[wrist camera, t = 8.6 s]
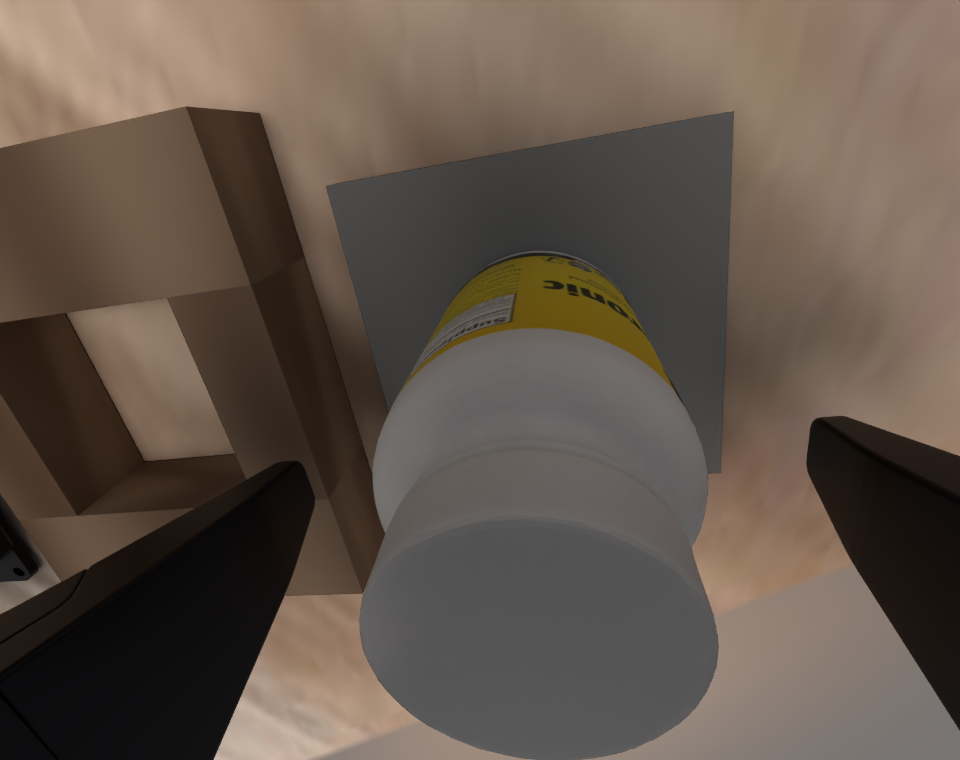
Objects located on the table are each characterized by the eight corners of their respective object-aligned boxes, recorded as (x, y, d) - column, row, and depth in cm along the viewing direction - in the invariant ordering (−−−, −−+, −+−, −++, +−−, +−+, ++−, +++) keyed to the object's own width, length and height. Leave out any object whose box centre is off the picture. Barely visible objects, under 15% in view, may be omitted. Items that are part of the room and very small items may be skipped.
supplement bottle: (672, 363, 14) (881, 732, 5) (516, 451, 16) (482, 831, 7) (565, 200, 13) (614, 347, 4) (406, 318, 14) (195, 600, 6)
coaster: (415, 482, 18) (411, 493, 17) (334, 184, 14) (325, 185, 13) (714, 461, 16) (720, 472, 16) (725, 112, 12) (734, 111, 11)
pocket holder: (136, 542, 21) (75, 602, 18) (-73, 184, 15) (-208, 195, 12) (388, 528, 19) (362, 593, 16) (259, 113, 13) (186, 106, 10)
